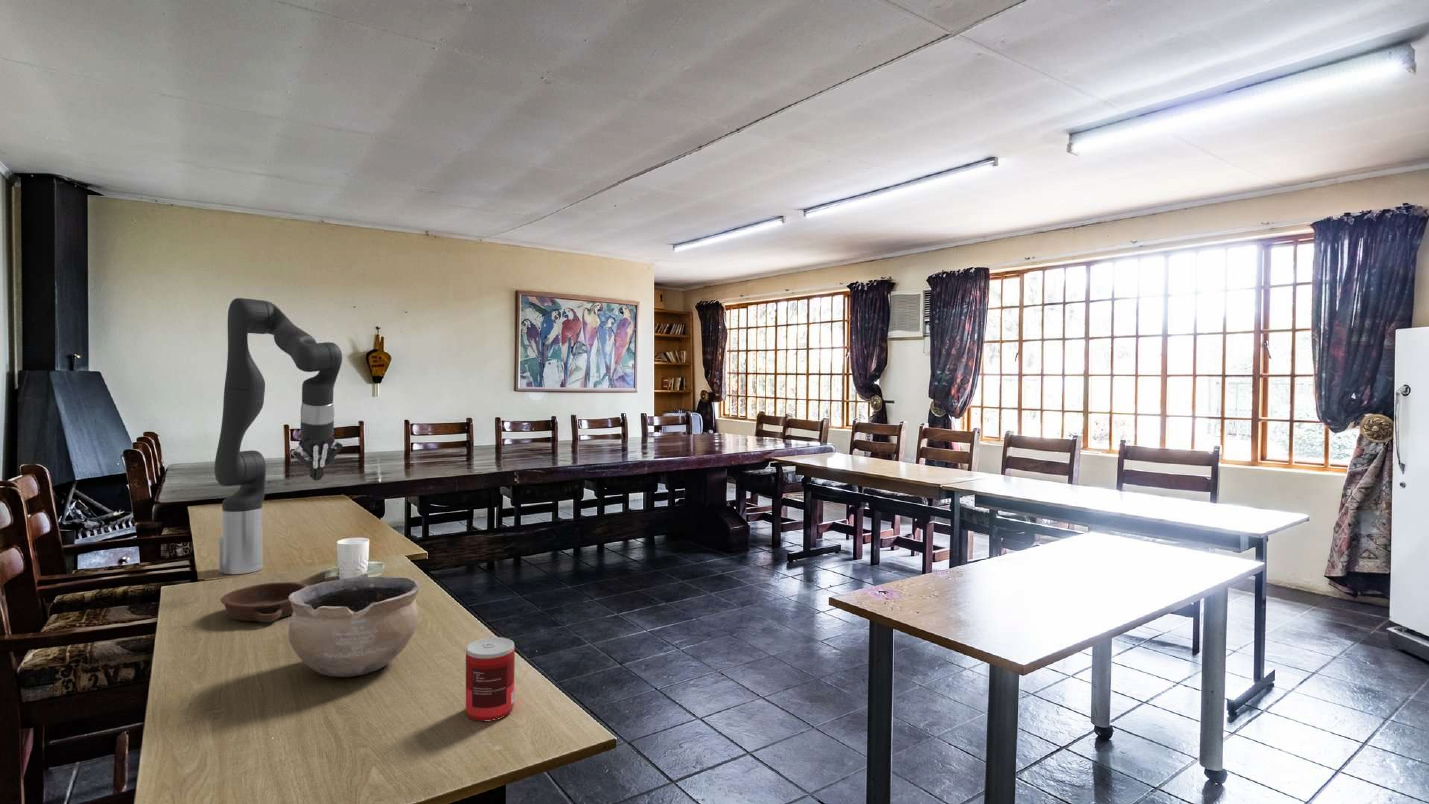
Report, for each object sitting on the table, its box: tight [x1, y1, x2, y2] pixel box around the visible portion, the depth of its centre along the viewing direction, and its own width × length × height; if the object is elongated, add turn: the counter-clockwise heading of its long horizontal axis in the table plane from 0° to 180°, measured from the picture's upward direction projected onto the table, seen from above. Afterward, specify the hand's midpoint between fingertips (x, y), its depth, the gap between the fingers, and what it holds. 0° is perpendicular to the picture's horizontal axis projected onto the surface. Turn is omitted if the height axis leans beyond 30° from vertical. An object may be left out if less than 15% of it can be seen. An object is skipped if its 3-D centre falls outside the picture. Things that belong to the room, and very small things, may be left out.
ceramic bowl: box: [287, 576, 420, 678], centre depth 133 cm, size 22×22×15 cm
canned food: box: [465, 636, 516, 722], centre depth 117 cm, size 8×8×11 cm
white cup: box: [336, 537, 370, 580], centre depth 192 cm, size 8×8×10 cm
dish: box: [220, 581, 308, 623], centre depth 163 cm, size 18×22×5 cm
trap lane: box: [295, 561, 385, 586], centre depth 186 cm, size 13×24×3 cm, turn 175°
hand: (316, 479), depth 188 cm, fingers closed
